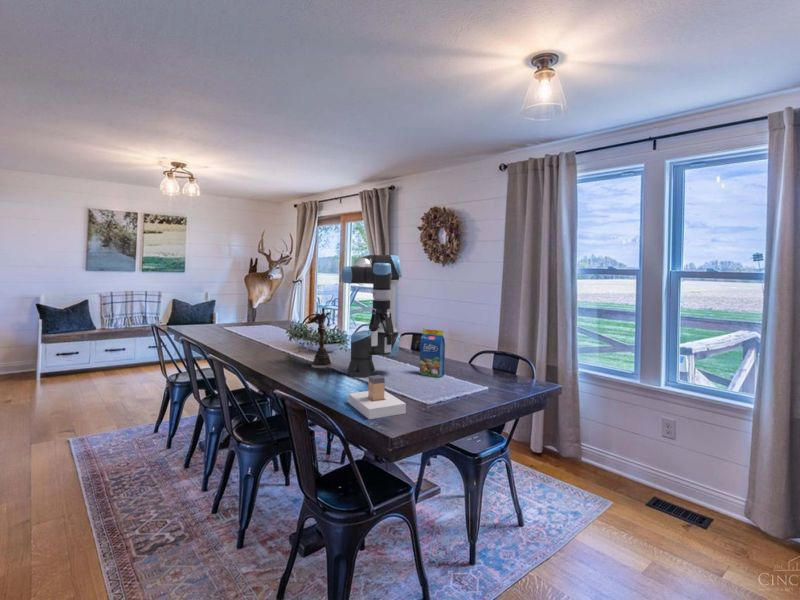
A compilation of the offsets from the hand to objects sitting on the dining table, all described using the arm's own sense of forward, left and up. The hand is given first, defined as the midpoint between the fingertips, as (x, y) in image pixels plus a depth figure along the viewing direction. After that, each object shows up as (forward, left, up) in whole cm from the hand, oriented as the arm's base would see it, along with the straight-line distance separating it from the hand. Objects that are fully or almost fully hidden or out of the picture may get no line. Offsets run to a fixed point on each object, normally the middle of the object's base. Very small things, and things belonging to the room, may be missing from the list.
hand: (380, 349), depth 180 cm
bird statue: (-76, -4, -24) cm, 80 cm away
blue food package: (-30, +45, -24) cm, 59 cm away
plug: (+6, -4, -23) cm, 24 cm away
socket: (+6, -5, -23) cm, 24 cm away
